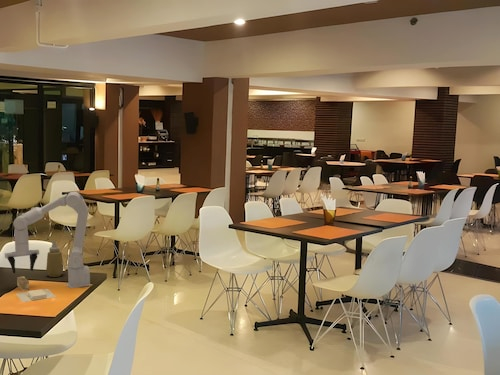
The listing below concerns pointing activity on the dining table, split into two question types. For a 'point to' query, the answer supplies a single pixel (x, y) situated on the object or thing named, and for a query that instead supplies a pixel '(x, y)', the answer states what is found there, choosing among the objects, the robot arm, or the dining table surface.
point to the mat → (26, 298)
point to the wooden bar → (23, 283)
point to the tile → (37, 294)
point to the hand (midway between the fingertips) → (22, 271)
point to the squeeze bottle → (54, 261)
